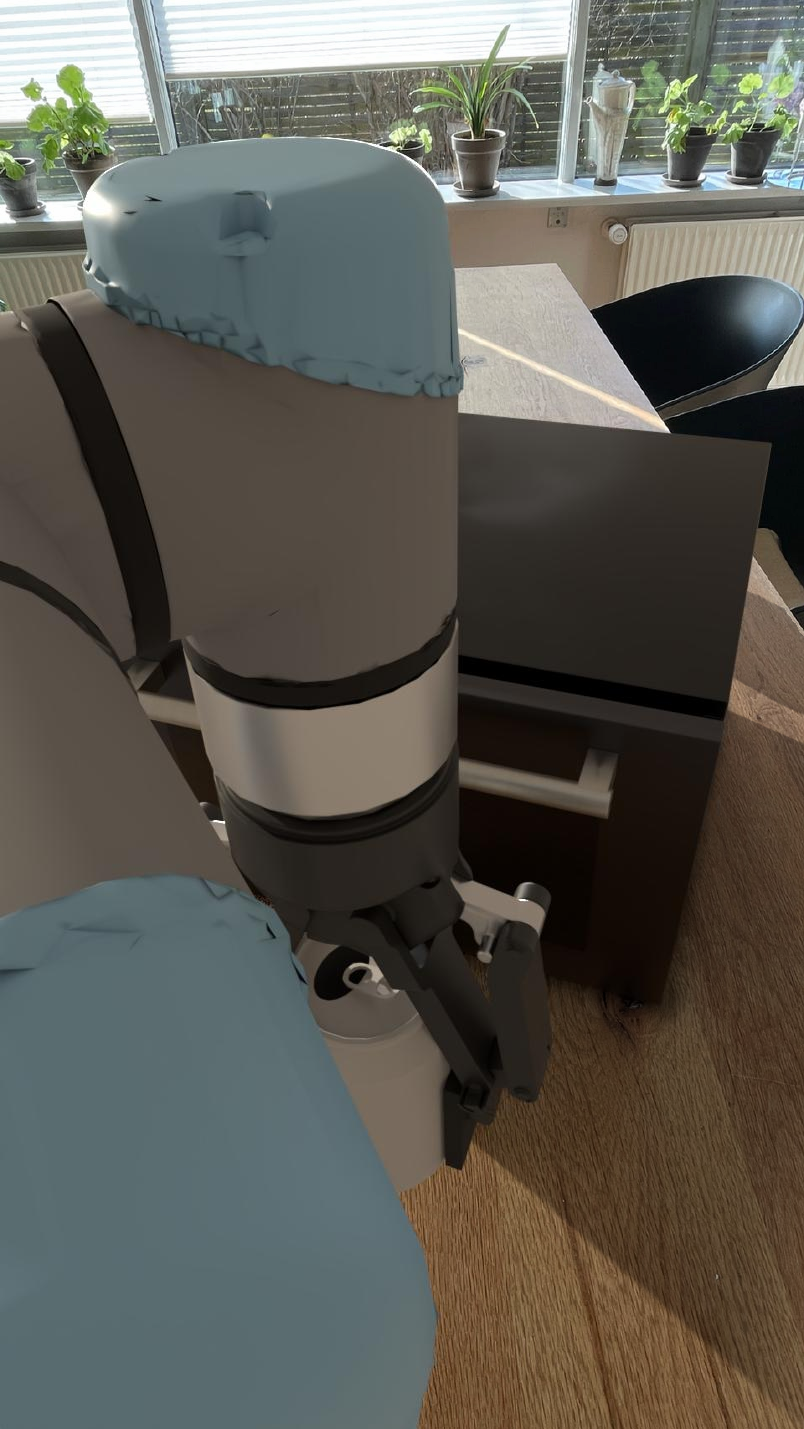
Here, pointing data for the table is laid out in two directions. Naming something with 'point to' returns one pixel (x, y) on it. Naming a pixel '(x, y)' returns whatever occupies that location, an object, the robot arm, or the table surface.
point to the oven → (605, 559)
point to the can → (380, 1058)
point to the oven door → (543, 812)
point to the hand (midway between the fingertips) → (378, 1110)
